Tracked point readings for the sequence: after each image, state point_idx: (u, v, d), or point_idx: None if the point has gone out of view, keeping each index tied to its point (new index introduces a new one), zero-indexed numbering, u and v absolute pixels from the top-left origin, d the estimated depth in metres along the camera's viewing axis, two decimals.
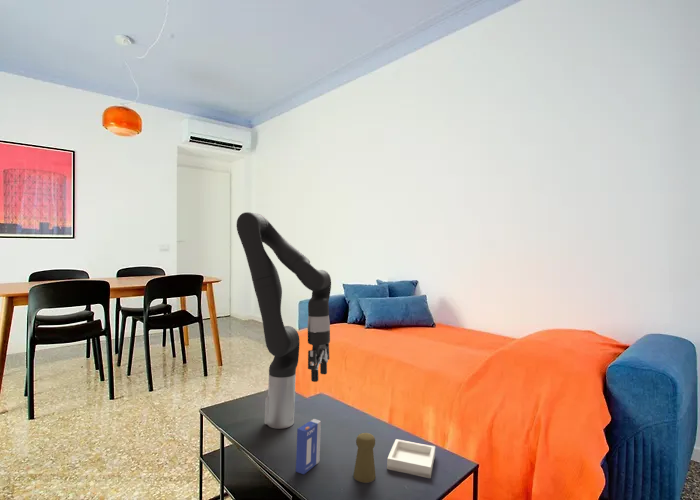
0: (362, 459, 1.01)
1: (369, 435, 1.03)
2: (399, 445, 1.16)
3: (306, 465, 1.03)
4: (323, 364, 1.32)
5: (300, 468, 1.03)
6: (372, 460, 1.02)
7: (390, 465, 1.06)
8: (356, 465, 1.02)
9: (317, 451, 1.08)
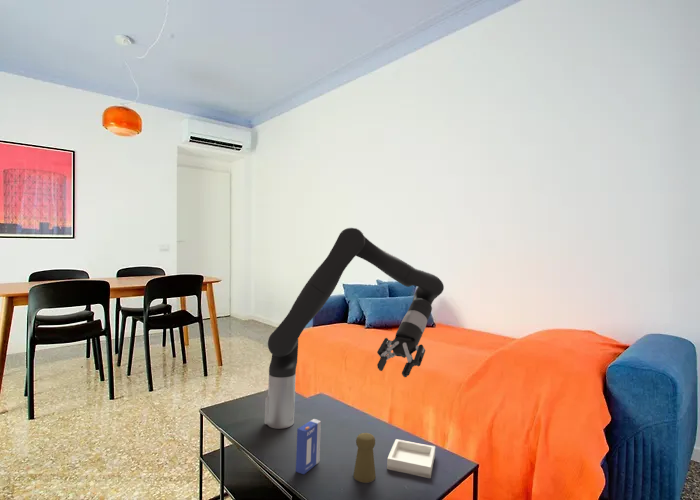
0: (362, 459, 1.01)
1: (369, 435, 1.03)
2: (399, 445, 1.16)
3: (306, 465, 1.03)
4: (385, 360, 1.17)
5: (300, 468, 1.03)
6: (372, 460, 1.02)
7: (390, 465, 1.06)
8: (356, 465, 1.02)
9: (317, 451, 1.08)
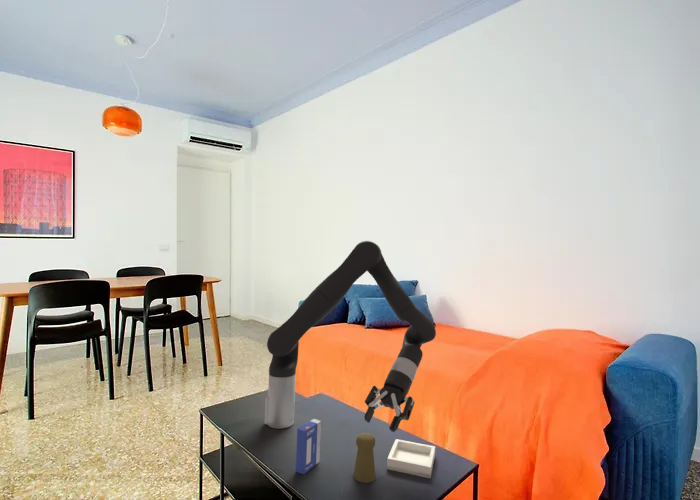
0: (362, 459, 1.01)
1: (369, 435, 1.03)
2: (399, 445, 1.16)
3: (306, 465, 1.03)
4: (372, 411, 1.12)
5: (300, 468, 1.03)
6: (372, 460, 1.02)
7: (390, 465, 1.06)
8: (356, 465, 1.02)
9: (317, 451, 1.08)
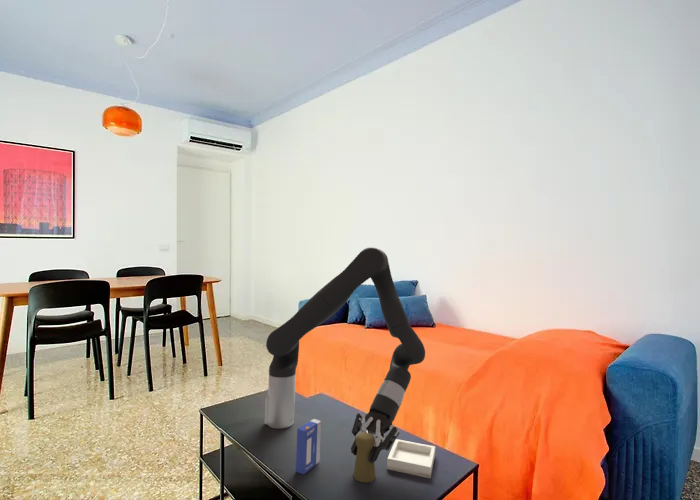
0: (362, 458, 1.01)
1: (369, 435, 1.03)
2: (399, 445, 1.16)
3: (306, 465, 1.03)
4: None
5: (300, 468, 1.03)
6: None
7: (390, 465, 1.06)
8: (356, 465, 1.02)
9: (317, 451, 1.08)
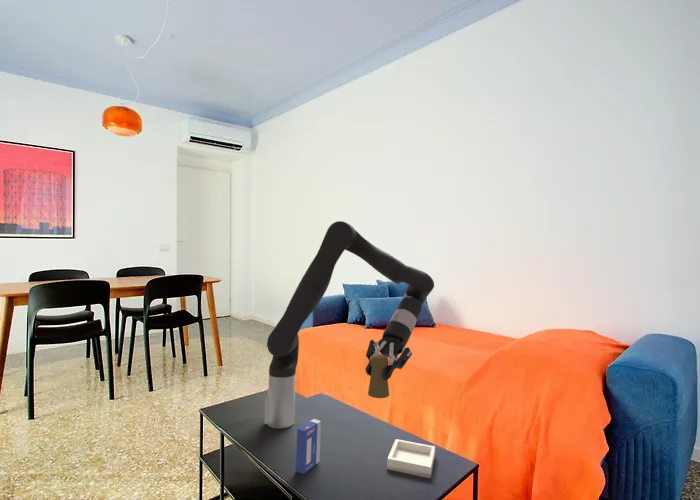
0: (377, 376, 1.05)
1: (382, 355, 1.07)
2: (399, 445, 1.16)
3: (306, 465, 1.03)
4: None
5: (300, 468, 1.03)
6: None
7: (390, 465, 1.06)
8: (370, 383, 1.06)
9: (317, 451, 1.08)
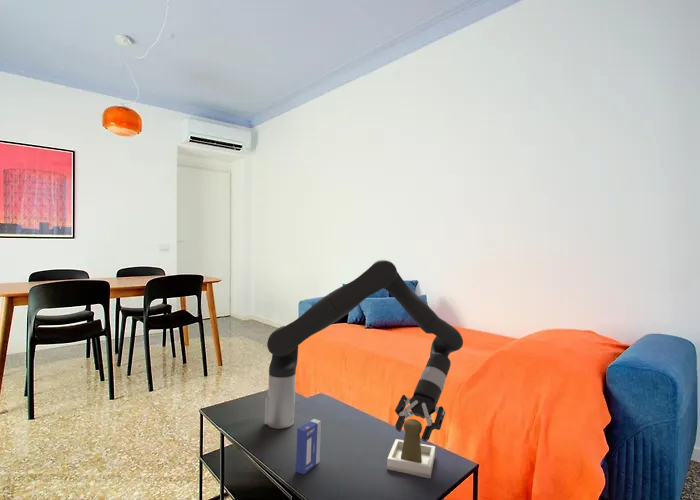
0: (410, 443, 1.08)
1: (416, 421, 1.10)
2: (399, 445, 1.16)
3: (306, 465, 1.03)
4: (403, 420, 1.14)
5: (300, 468, 1.03)
6: (419, 444, 1.09)
7: (390, 465, 1.06)
8: (404, 449, 1.09)
9: (317, 451, 1.08)
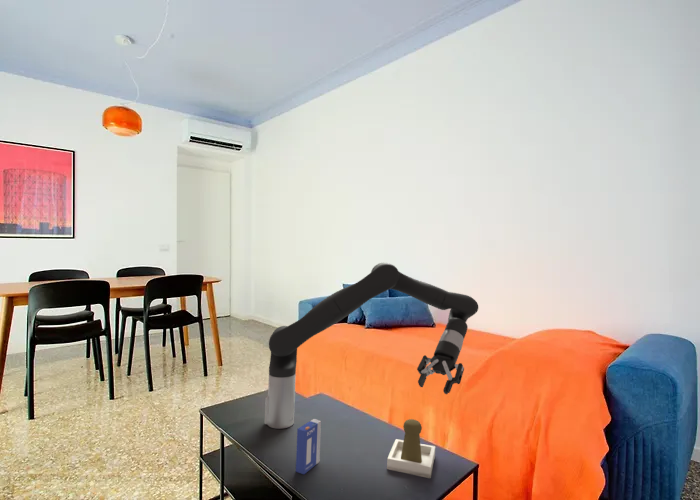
0: (410, 443, 1.08)
1: (416, 421, 1.10)
2: (399, 445, 1.16)
3: (306, 465, 1.03)
4: (425, 377, 1.24)
5: (300, 468, 1.03)
6: (419, 444, 1.09)
7: (390, 465, 1.06)
8: (404, 449, 1.09)
9: (317, 451, 1.08)
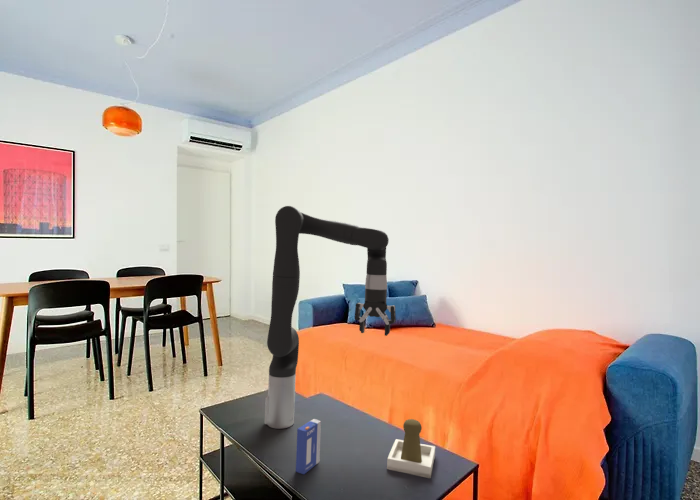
0: (410, 443, 1.08)
1: (415, 421, 1.10)
2: (399, 445, 1.16)
3: (306, 465, 1.03)
4: (363, 323, 1.34)
5: (300, 468, 1.03)
6: (419, 444, 1.09)
7: (390, 465, 1.06)
8: (404, 449, 1.09)
9: (317, 451, 1.08)
